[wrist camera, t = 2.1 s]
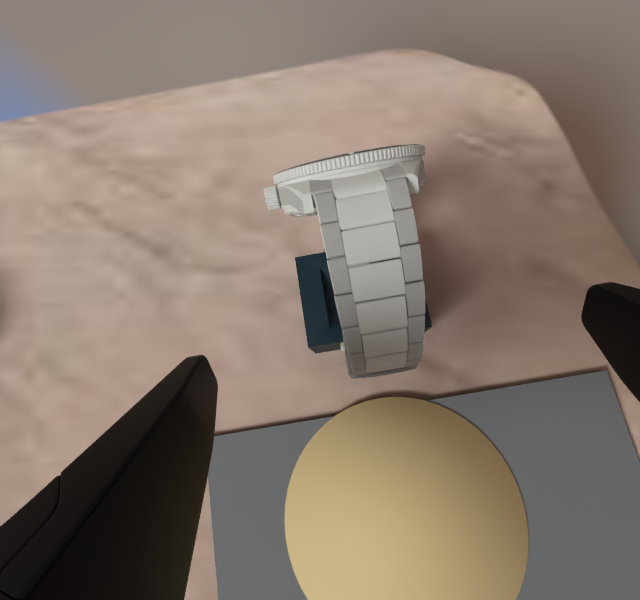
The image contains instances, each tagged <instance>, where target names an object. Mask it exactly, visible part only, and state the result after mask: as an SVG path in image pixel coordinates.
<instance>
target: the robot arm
mask: <svg viewBox="0 0 640 600" xmlns="http://www.w3.org/2000/svg"><path fill="white" fill-rule="evenodd" d="M582 322H583V325H584V327H585V328H586V330H587V331H588V333H589V334H590V335H591V337H592V338H593V340H594V341H595V343H596V344H597V346H598V347H599V349H600V350H601V352H602V353H603V354H604V356H605V357H606V359H607V360H608V362H609V363H610V365H611V366H612V368H613V369H614V371H615V372H616V373H617V375H618V376H619V377H620V379H621V380H622V381H623V383H624V384H625V385H626V386H627V388H628V389H629V390H630V391H631V392H632V394H633V395H634V396H635V397H636V398H637V399H638V401H639V402H640V289H638V288H634V287H630V286H626V285H621V284H617V283H613V282H608V283H602V284H596V285H593V286H591V287H590V288H589V289H588V291H587V294H586V298H585V302H584V307H583V311H582ZM217 392H218V384H217V380H216V377H215V375H214V373H213V371H212V369H211V366H210V364H209V362H208V360H207V358H206V357H205V356H203V355H197V356H192V357H187V358H186V359H184V360H183V361H182V362H181V363H180V364H179V365H178V366H177V367H176V368H175V369H174V370H172V371H171V372H170V373H169V374H168V375H167V376H166V377H165V378H164V379H163V380H162V381H160V382H159V383H158V384H157V385H156V386H155V387H154V388H153V389H152V390H151V391H150V392H148V393H147V394H146V395H145V396H144V397H143V398H142V399H141V400H140V401H139V402H137V403H136V404H135V405H134V406H133V407H132V408H131V409H130V410H129V411H128V412H127V413H125V414H124V415H123V416H122V417H121V418H120V419H119V420H118V421H117V422H116V423H115V424H113V425H112V426H111V427H110V428H109V429H108V430H107V431H106V432H105V433H104V434H103V435H101V436H100V437H99V438H98V439H97V440H96V441H95V442H94V443H93V444H92V445H91V446H89V447H88V448H87V449H86V450H85V451H84V452H83V453H82V454H81V455H80V456H78V457H77V458H76V459H75V460H74V461H73V462H72V463H71V464H70V465H69V466H68V467H66V468H65V469H64V470H63V471H62V472H61V475H60V476H57V477H55V478H54V479H53V480H52V481H51V482H50V483H49V484H48V485H47V486H46V487H45V488H44V489H42V490H41V491H40V492H39V493H38V494H37V495H36V496H35V497H34V498H32V499H31V500H30V501H29V502H28V503H27V504H26V505H25V506H23V507H22V508H21V509H20V510H19V511H18V512H17V513H16V514H14V515H13V516H12V517H11V518H10V519H9V520H8V521H6V522H5V523H4V524H3V525H2V526H0V600H184V597H185V592H186V587H187V581H188V576H189V571H190V566H191V560H192V555H193V550H194V545H195V540H196V534H197V529H198V524H199V519H200V514H201V508H202V503H203V498H204V493H205V488H206V482H207V477H208V472H209V467H210V462H211V456H212V450H213V443H214V432H215V419H216V405H217Z"/></svg>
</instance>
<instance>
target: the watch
mask: <svg viewBox="0 0 640 600" xmlns="http://www.w3.org/2000/svg"><path fill="white" fill-rule="evenodd" d="M424 154H425V147H424V146H423V145H418V144H414V145H397V146H388V147H381V148H374V149H368V150H362V151H357V152H349V153H347V154H342V155H337V156H333V157H328V158H324V159H320V160H316V161H312V162H308V163H305V164H301V165H298V166H295V167H292V168H289V169H287V170H284V171H281V172H279V173H277V174H276V175H274V176H273V179H274V184H277V185H278V189H277V187H276V186H270V187H265V188H264V194H265V200H266V204H267V207H268V209H269V211H272V210H277V209H281V205H282V209H284V212H285V213H286V214H288V215H292V216H296V217H303V216H312V215H318V218H319V222H320V229H321V234H322V239H323V243H324V248H325V252H323V253H318V254H312V255H307V256H301V257H296V258H295V261H296V267H297V274H298V281H299V288H300V294H301V301H302V308H303V315H304V321H305V328H306V335H307V342H308V348H310V349H311V350H312V351H313V352H315V353H321V352H327V351H333V350H339V349H341V350H342V352H345V356H346V362H347V368H348V374H349V376H350V377H351V378H365V377H374V376H381V375H387V374H393V373H398V372H403V371H407V370H411V369H415V368H416V367H417V365H418V363H419V362H420V358H421V355H422V351H423V340H424V332H426V331H427V330H428V329H430V328H431V327H432V325H431V321H430V317H429V313H428V308H427V304H426V300H425V287H424V281H423V280H422V279H423V270H422V259H421V250H420V244H415V243H417V242H418V234H417V227H416V221H415V216H414V210H413V208H411V207H412V205H411V199H410V196H412V195H414V194H415V193H419V192H420V190H421V189H422V188H423V186H424V182H425V172H424V162H423V159H422V156H423V155H424Z"/></svg>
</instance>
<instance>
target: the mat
mask: <svg viewBox="0 0 640 600" xmlns="http://www.w3.org/2000/svg"><path fill="white" fill-rule="evenodd" d="M208 480H209V492H210V504H211V516H212V528H213V540H214V551H215V563H216V575H217V587H218V599H219V600H640V462H639V459H638V456H637V453H636V451H635V448H634V445H633V442H632V439H631V436H630V434H629V431H628V428H627V425H626V422H625V420H624V417H623V414H622V411H621V408H620V405H619V403H618V400H617V397H616V394H615V391H614V388H613V386H612V383H611V380H610V377H609V374H608V372H607V370H605V371H598V372H592V373H586V374H580V375H574V376H568V377H562V378H556V379H550V380H544V381H538V382H532V383H526V384H520V385H514V386H509V387H503V388H497V389H491V390H485V391H479V392H473V393H467V394H461V395H455V396H449V397H443V398H437V399H431V400H425V401H424V400H420V399H414V398H408V397H386V398H377V399H373V400H369V401H365V402H362V403H359V404H357V405H354V406H351V407H349V408H348V409H346V410H344V411H342V412H340V413H339V414H337V415H336V416H330V417H324V418H318V419H312V420H306V421H301V422H295V423H289V424H283V425H277V426H271V427H265V428H259V429H253V430H247V431H241V432H235V433H229V434H223V435H217V436H214V443H213V450H212V456H211V462H210V467H209V472H208Z"/></svg>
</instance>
